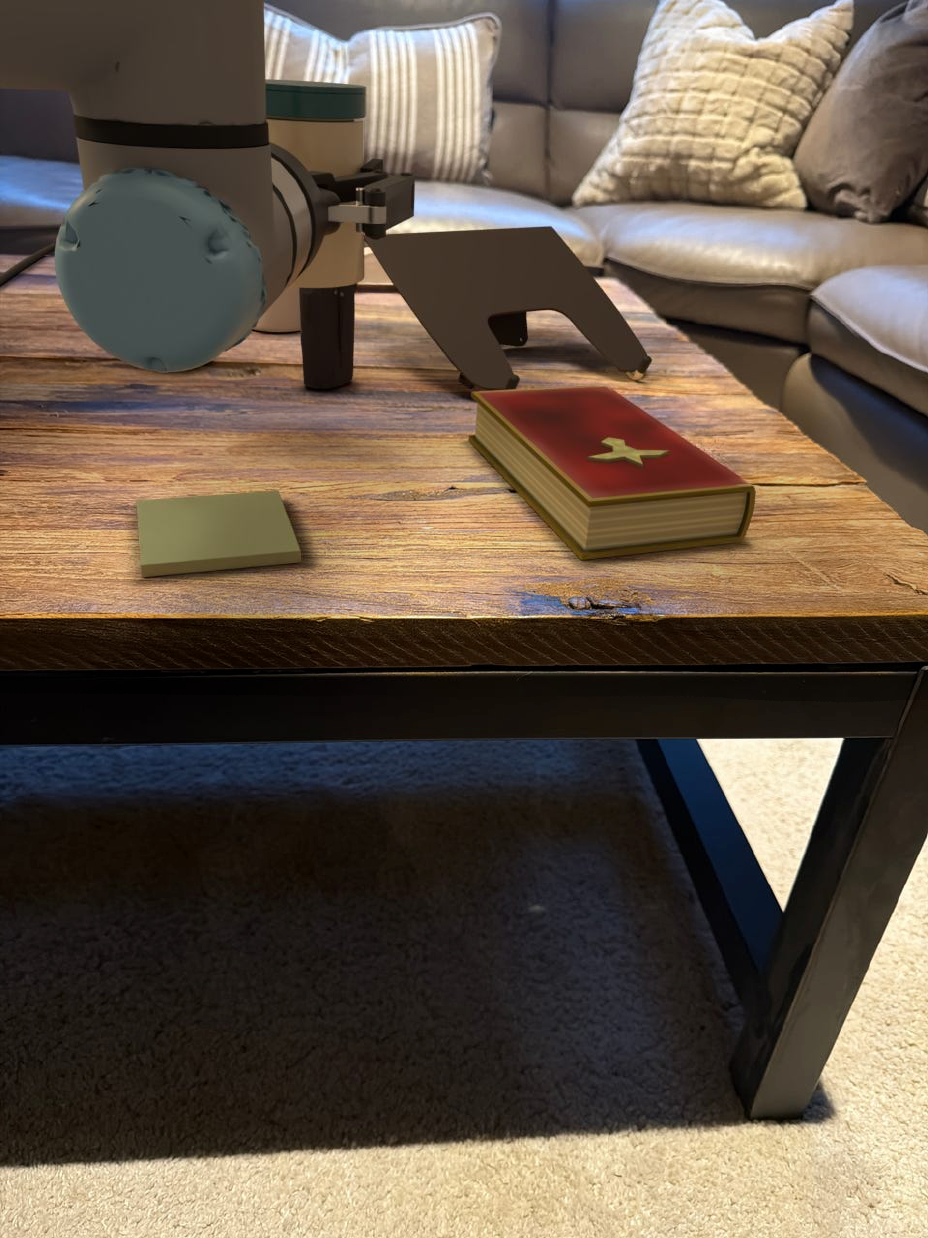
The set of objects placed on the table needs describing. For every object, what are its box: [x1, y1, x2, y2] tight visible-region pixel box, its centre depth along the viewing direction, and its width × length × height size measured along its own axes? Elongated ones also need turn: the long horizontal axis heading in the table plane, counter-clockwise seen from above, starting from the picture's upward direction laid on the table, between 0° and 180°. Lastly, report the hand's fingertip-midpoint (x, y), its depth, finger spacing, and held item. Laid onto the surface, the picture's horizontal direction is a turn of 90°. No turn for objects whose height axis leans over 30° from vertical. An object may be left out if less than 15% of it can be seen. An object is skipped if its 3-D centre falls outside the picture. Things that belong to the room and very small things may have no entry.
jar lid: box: [265, 78, 367, 119], centre depth 62 cm, size 8×8×2 cm
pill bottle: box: [252, 287, 301, 333], centre depth 98 cm, size 8×8×15 cm
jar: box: [266, 115, 365, 288], centre depth 65 cm, size 8×8×12 cm
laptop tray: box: [364, 225, 653, 391], centre depth 94 cm, size 23×23×9 cm
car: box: [357, 246, 394, 286], centre depth 119 cm, size 12×6×5 cm, turn 107°
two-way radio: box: [299, 283, 358, 391], centre depth 82 cm, size 6×4×15 cm
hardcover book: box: [467, 384, 756, 561], centre depth 68 cm, size 12×21×4 cm, turn 19°
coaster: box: [136, 489, 302, 578], centre depth 59 cm, size 9×9×1 cm
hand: (317, 175), depth 69 cm, fingers closed on jar, 8 cm apart
